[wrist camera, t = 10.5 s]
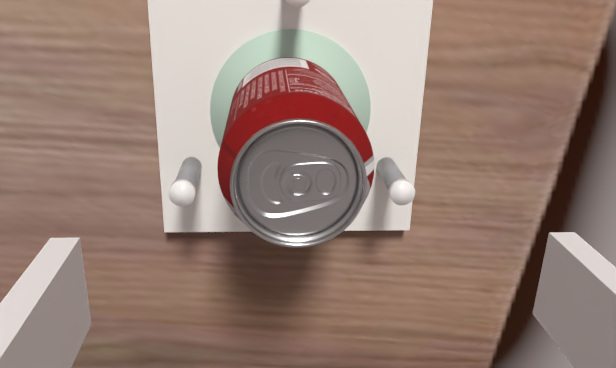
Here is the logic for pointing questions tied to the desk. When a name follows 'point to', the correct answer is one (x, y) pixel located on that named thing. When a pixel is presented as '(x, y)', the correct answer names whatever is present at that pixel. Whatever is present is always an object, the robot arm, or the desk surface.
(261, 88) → the soda can
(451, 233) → the desk surface
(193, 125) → the white pegged board
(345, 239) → the desk surface
